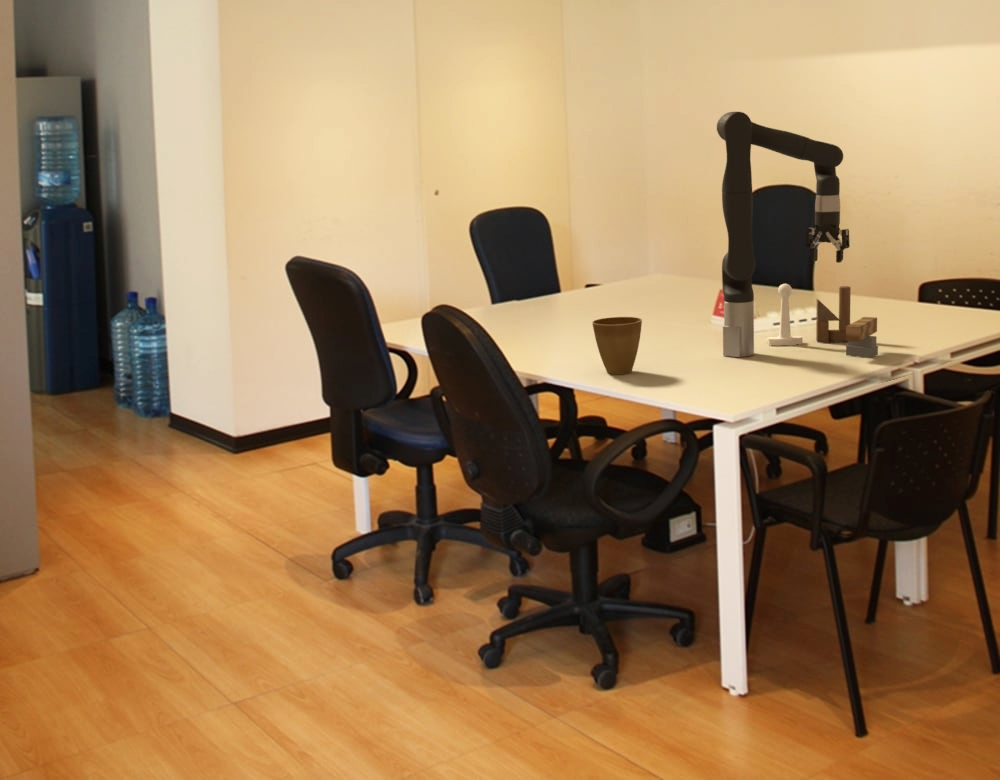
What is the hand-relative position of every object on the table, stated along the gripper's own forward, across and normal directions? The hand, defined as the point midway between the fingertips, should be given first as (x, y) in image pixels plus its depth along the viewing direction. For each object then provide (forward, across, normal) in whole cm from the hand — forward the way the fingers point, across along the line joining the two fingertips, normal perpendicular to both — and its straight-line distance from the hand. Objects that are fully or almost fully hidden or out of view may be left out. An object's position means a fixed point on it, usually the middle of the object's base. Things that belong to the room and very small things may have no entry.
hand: (826, 261), depth 393 cm
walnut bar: (+22, +15, -4) cm, 27 cm away
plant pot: (+29, -34, -63) cm, 77 cm away
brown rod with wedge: (+28, -4, +12) cm, 31 cm away
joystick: (+28, -16, +1) cm, 32 cm away
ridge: (+28, +15, -4) cm, 32 cm away
